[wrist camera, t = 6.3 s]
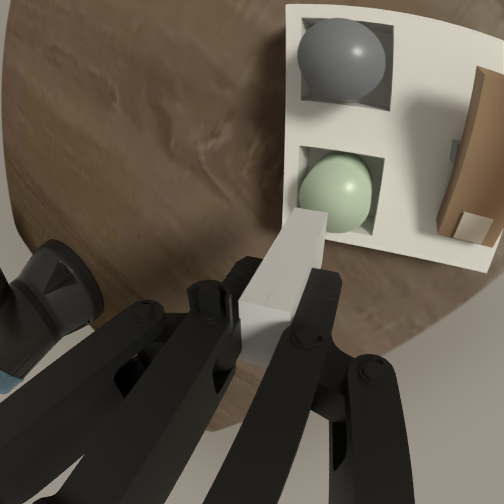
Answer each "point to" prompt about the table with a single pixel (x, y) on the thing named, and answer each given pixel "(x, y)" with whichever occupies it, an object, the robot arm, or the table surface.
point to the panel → (392, 127)
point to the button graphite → (341, 58)
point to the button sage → (339, 190)
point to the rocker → (478, 168)
